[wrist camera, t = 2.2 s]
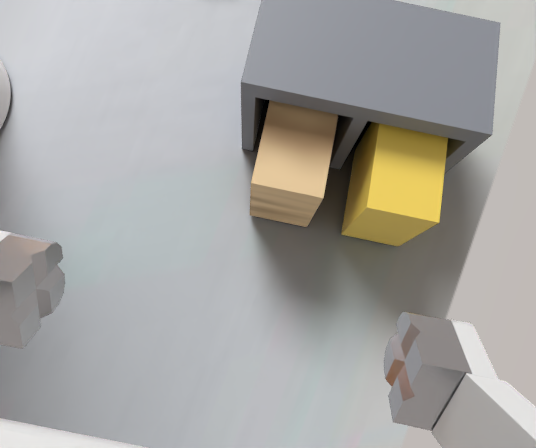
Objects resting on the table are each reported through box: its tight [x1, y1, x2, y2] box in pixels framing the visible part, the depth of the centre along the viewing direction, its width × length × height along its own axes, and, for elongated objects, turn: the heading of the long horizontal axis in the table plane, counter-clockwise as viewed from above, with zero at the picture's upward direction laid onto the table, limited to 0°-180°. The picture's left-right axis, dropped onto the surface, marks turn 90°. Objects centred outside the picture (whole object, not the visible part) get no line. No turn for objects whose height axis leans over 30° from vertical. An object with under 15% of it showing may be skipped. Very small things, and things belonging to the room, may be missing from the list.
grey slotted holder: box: [241, 0, 500, 174], centre depth 35 cm, size 9×17×10 cm, turn 78°
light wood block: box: [250, 100, 338, 227], centre depth 34 cm, size 8×5×8 cm, turn 168°
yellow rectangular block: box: [341, 122, 448, 246], centre depth 34 cm, size 8×5×8 cm, turn 168°
